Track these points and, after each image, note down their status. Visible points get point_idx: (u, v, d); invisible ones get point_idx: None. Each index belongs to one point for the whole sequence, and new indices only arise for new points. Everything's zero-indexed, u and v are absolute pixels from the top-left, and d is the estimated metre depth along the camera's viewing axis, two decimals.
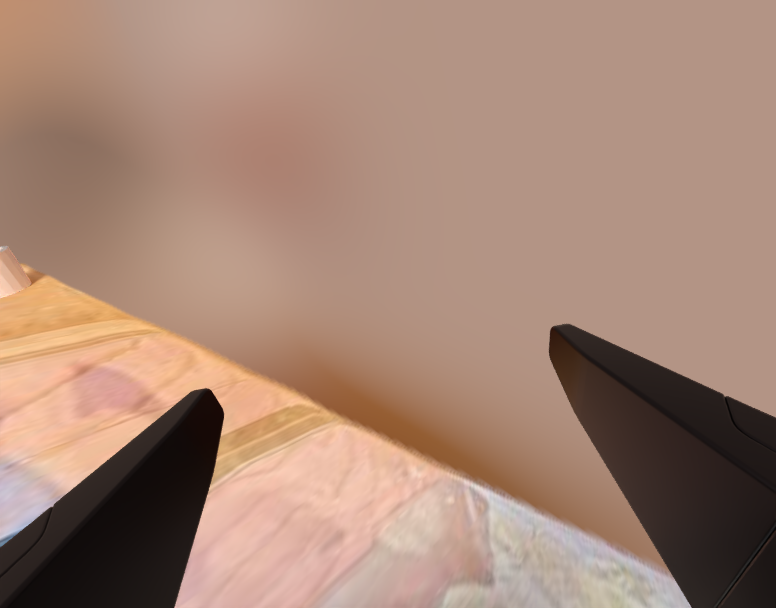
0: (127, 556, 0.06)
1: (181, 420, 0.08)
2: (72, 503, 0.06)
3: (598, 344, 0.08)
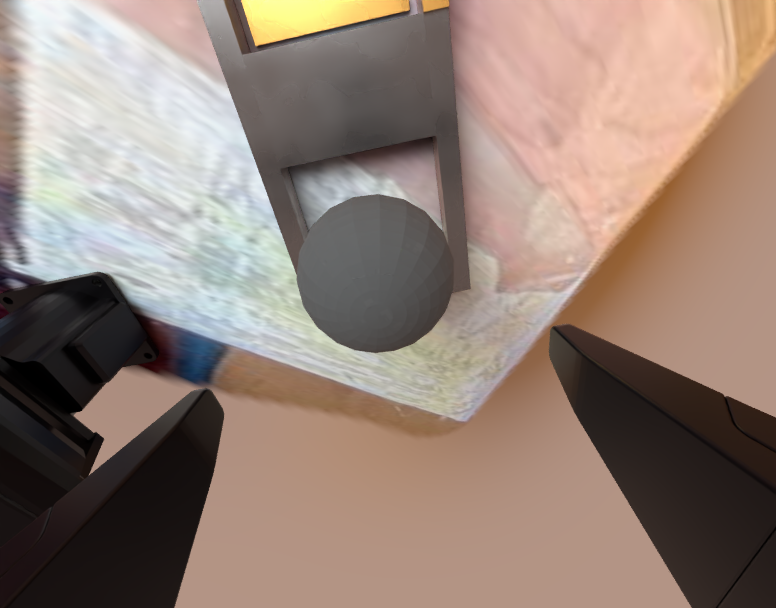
0: (127, 556, 0.06)
1: (181, 420, 0.08)
2: (72, 503, 0.06)
3: (597, 344, 0.08)
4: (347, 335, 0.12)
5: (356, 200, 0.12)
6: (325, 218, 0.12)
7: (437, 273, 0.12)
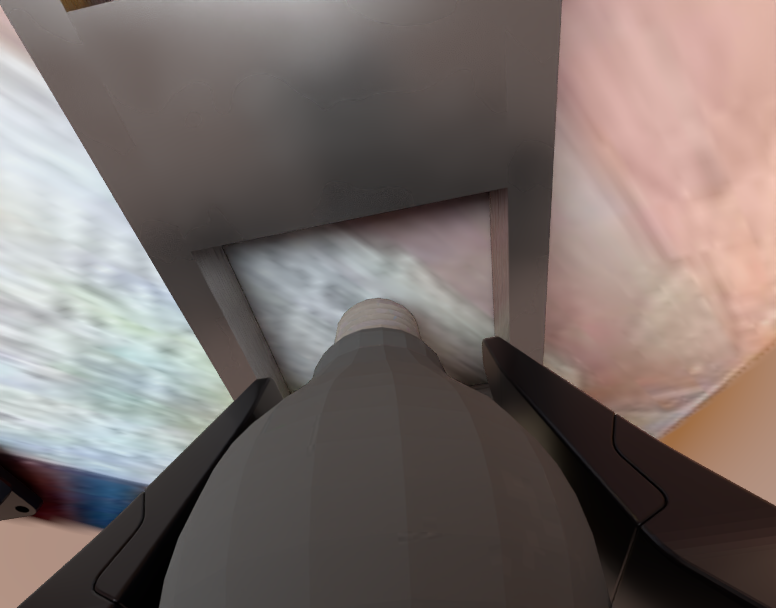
0: None
1: (254, 407, 0.08)
2: (165, 488, 0.06)
3: (517, 359, 0.08)
4: None
5: (328, 449, 0.04)
6: (227, 515, 0.04)
7: None
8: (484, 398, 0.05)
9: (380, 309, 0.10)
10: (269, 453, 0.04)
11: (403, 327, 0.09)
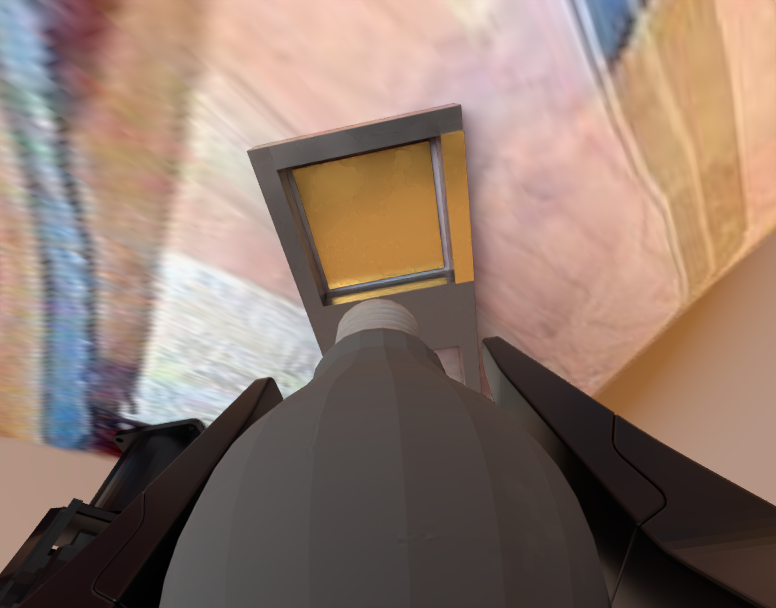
0: None
1: (254, 408, 0.08)
2: (165, 488, 0.06)
3: (517, 359, 0.08)
4: None
5: (328, 450, 0.04)
6: (227, 516, 0.04)
7: None
8: (484, 399, 0.05)
9: (380, 310, 0.10)
10: (269, 454, 0.04)
11: (404, 328, 0.09)
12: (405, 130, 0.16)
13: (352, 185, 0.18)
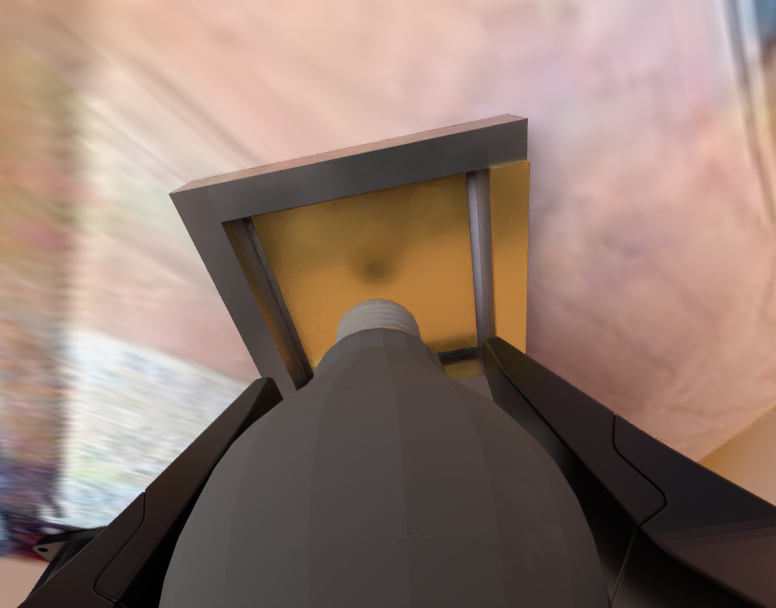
0: None
1: (254, 407, 0.08)
2: (165, 488, 0.06)
3: (517, 359, 0.08)
4: None
5: (328, 450, 0.04)
6: (227, 516, 0.04)
7: None
8: (484, 399, 0.05)
9: (380, 310, 0.10)
10: (269, 454, 0.04)
11: (404, 327, 0.09)
12: (431, 160, 0.09)
13: (346, 238, 0.12)
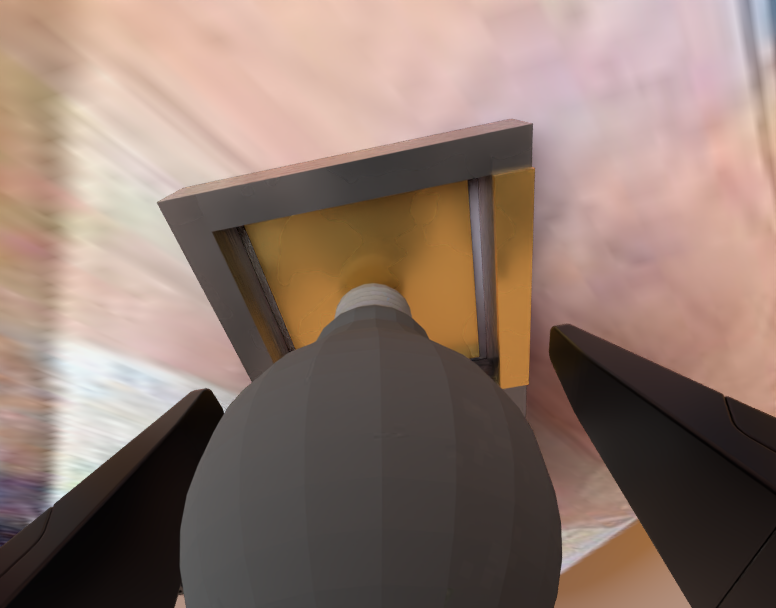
0: (127, 556, 0.06)
1: (181, 420, 0.08)
2: (72, 503, 0.06)
3: (598, 344, 0.08)
4: None
5: (321, 379, 0.05)
6: (240, 430, 0.05)
7: (542, 606, 0.04)
8: (457, 353, 0.06)
9: (375, 292, 0.11)
10: (273, 386, 0.05)
11: (395, 307, 0.10)
12: (431, 167, 0.09)
13: (343, 247, 0.11)
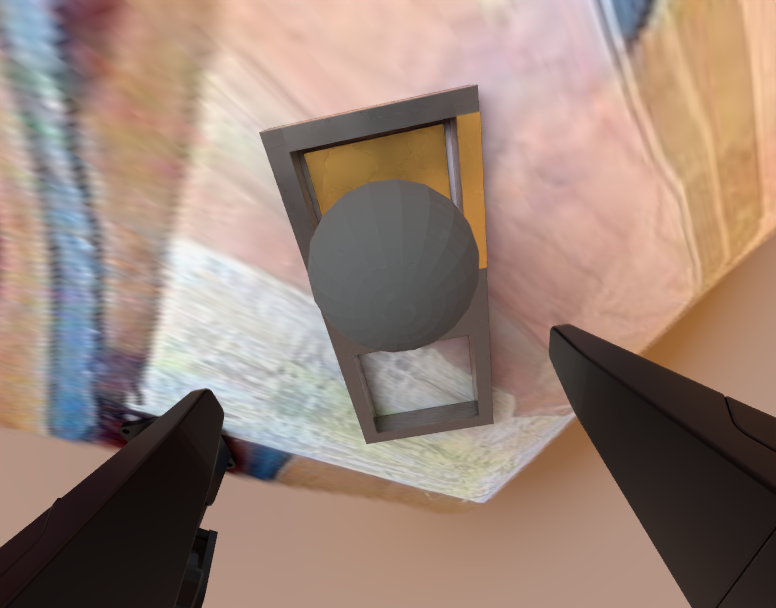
0: (127, 556, 0.06)
1: (181, 420, 0.08)
2: (72, 503, 0.06)
3: (597, 344, 0.08)
4: (365, 333, 0.11)
5: (373, 184, 0.11)
6: (339, 204, 0.11)
7: (464, 263, 0.11)
8: None
9: None
10: (350, 192, 0.11)
11: None
12: (420, 111, 0.15)
13: (365, 169, 0.18)
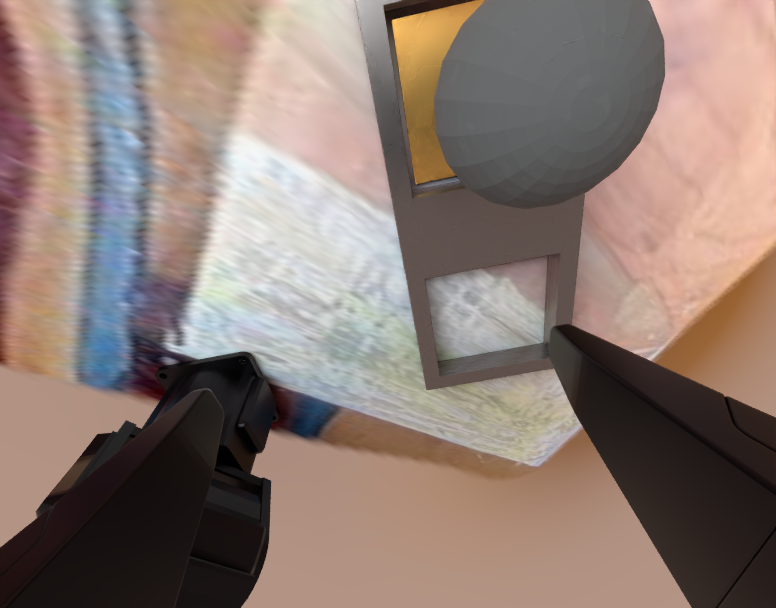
0: (127, 556, 0.06)
1: (181, 420, 0.08)
2: (72, 503, 0.06)
3: (598, 344, 0.08)
4: (531, 152, 0.09)
5: None
6: None
7: (662, 57, 0.08)
8: None
9: None
10: None
11: None
12: None
13: None
